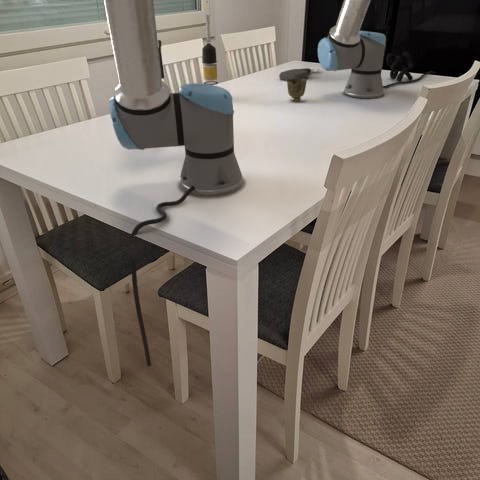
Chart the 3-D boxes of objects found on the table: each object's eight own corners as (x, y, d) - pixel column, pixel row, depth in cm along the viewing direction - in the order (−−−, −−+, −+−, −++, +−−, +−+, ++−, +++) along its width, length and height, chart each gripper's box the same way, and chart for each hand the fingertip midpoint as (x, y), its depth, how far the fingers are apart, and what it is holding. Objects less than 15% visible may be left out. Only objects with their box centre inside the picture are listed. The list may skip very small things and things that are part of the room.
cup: (283, 102, 172) (284, 80, 168) (290, 97, 178) (291, 76, 173) (301, 104, 169) (302, 82, 165) (308, 99, 175) (309, 78, 170)
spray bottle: (276, 79, 206) (305, 70, 222) (296, 82, 200) (324, 73, 216) (277, 72, 204) (305, 64, 220) (297, 75, 198) (325, 67, 214)
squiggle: (400, 92, 202) (376, 71, 205) (417, 76, 202) (392, 56, 205) (405, 81, 191) (380, 59, 194) (423, 64, 191) (397, 42, 194)
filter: (220, 99, 177) (217, 15, 161) (206, 100, 176) (202, 16, 160) (215, 96, 182) (212, 14, 166) (202, 97, 180) (197, 14, 164)
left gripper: (107, 12, 120) (121, 100, 132) (148, 16, 109) (159, 111, 122) (130, 10, 125) (142, 95, 137) (172, 13, 114) (180, 105, 126)
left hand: (150, 102), depth 129 cm, fingers closed on pill bottle, 5 cm apart
